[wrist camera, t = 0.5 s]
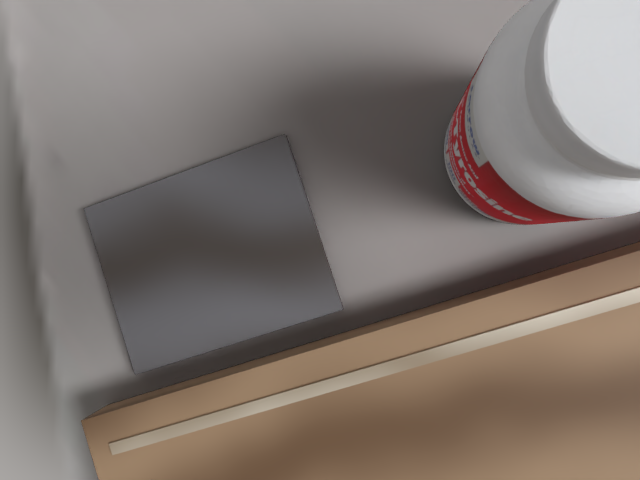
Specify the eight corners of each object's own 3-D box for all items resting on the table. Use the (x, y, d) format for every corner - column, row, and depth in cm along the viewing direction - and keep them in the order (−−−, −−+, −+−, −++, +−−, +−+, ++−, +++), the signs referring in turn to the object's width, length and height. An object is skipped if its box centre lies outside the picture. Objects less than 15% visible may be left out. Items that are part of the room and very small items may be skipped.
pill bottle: (416, 122, 21) (447, -9, 10) (551, 50, 20) (749, -180, 9) (485, 251, 20) (596, 266, 9) (625, 183, 20) (926, 112, 9)
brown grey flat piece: (821, 433, 19) (876, 458, 16) (165, 593, 22) (142, 629, 20) (659, -3, 19) (692, -32, 17) (52, 222, 23) (18, 221, 21)
